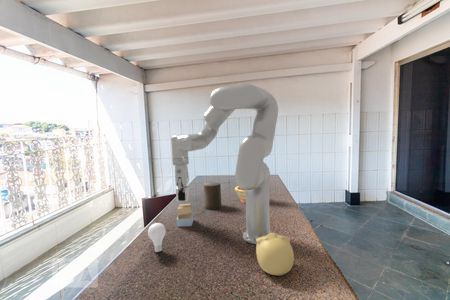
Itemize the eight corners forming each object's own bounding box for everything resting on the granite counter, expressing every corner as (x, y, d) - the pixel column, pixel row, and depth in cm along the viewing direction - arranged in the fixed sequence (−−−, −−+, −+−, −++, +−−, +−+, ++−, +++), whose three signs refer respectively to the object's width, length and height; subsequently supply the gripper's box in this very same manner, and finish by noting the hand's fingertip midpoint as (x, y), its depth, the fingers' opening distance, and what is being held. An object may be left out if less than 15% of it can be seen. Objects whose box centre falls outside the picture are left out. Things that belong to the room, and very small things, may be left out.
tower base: (191, 226, 109) (191, 218, 108) (176, 227, 109) (176, 219, 108) (193, 220, 116) (193, 212, 115) (179, 221, 116) (179, 213, 115)
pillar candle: (219, 209, 128) (218, 183, 127) (202, 209, 130) (201, 183, 129) (223, 204, 138) (222, 179, 136) (207, 204, 140) (206, 179, 138)
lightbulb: (160, 245, 92) (158, 218, 90) (170, 250, 87) (168, 222, 86) (146, 252, 87) (143, 224, 86) (156, 258, 83) (153, 228, 82)
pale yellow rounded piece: (287, 256, 80) (286, 226, 79) (299, 279, 68) (298, 244, 67) (254, 258, 79) (253, 228, 78) (260, 281, 67) (259, 246, 66)
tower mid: (191, 218, 109) (190, 207, 108) (178, 219, 108) (177, 208, 108) (191, 213, 115) (191, 203, 114) (179, 214, 114) (178, 204, 114)
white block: (187, 201, 108) (186, 188, 108) (176, 201, 108) (175, 189, 108) (188, 197, 113) (188, 185, 113) (178, 198, 113) (177, 186, 113)
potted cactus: (259, 196, 149) (258, 158, 147) (261, 204, 134) (259, 161, 131) (235, 196, 151) (234, 159, 148) (234, 204, 135) (232, 162, 133)
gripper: (185, 163, 101) (188, 204, 102) (190, 158, 118) (192, 193, 119) (168, 164, 101) (171, 204, 102) (176, 159, 118) (178, 193, 119)
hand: (182, 198), depth 111 cm, fingers closed on white block, 5 cm apart
